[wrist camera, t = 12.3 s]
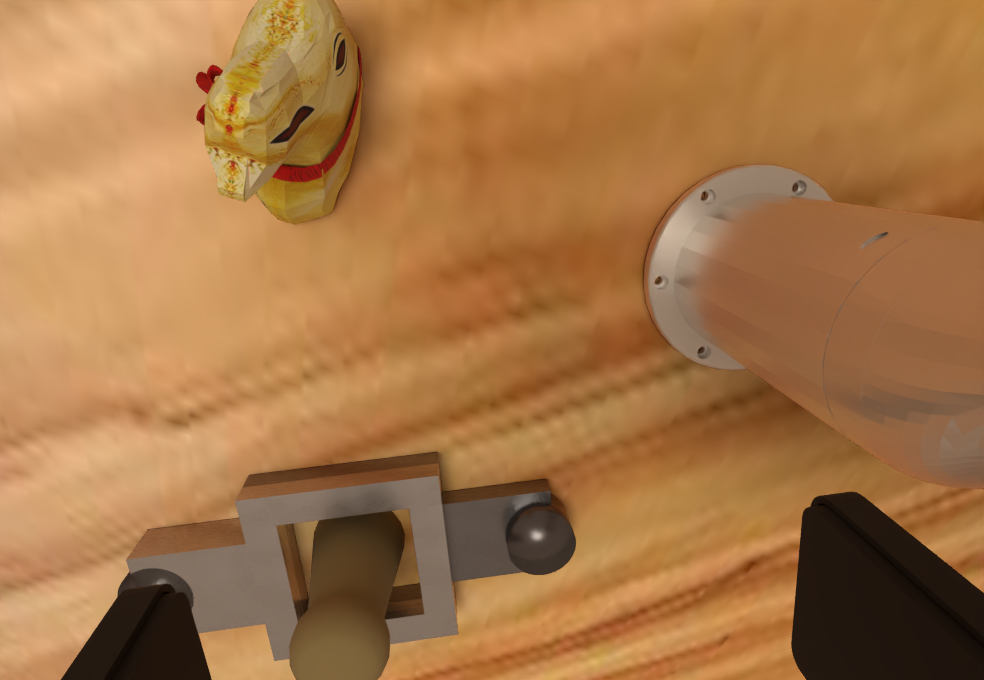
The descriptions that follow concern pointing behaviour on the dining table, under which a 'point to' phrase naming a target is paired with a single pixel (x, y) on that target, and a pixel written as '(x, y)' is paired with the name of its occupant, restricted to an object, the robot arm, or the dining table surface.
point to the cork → (348, 599)
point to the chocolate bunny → (285, 109)
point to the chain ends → (347, 492)
